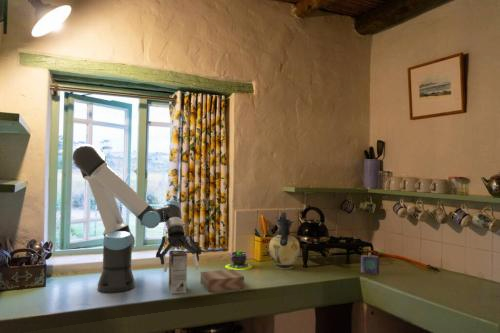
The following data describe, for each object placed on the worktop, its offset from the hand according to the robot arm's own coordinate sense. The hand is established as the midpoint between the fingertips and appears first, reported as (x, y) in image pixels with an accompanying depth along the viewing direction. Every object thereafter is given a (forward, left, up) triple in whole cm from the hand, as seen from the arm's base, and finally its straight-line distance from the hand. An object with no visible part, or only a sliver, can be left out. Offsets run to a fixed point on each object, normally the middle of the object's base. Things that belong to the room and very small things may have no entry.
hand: (181, 269), depth 153 cm
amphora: (+61, +21, -9) cm, 65 cm away
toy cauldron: (+38, +30, -9) cm, 49 cm away
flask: (+98, -5, -9) cm, 99 cm away
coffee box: (-2, -1, -9) cm, 9 cm away
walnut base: (+18, -1, -9) cm, 20 cm away
